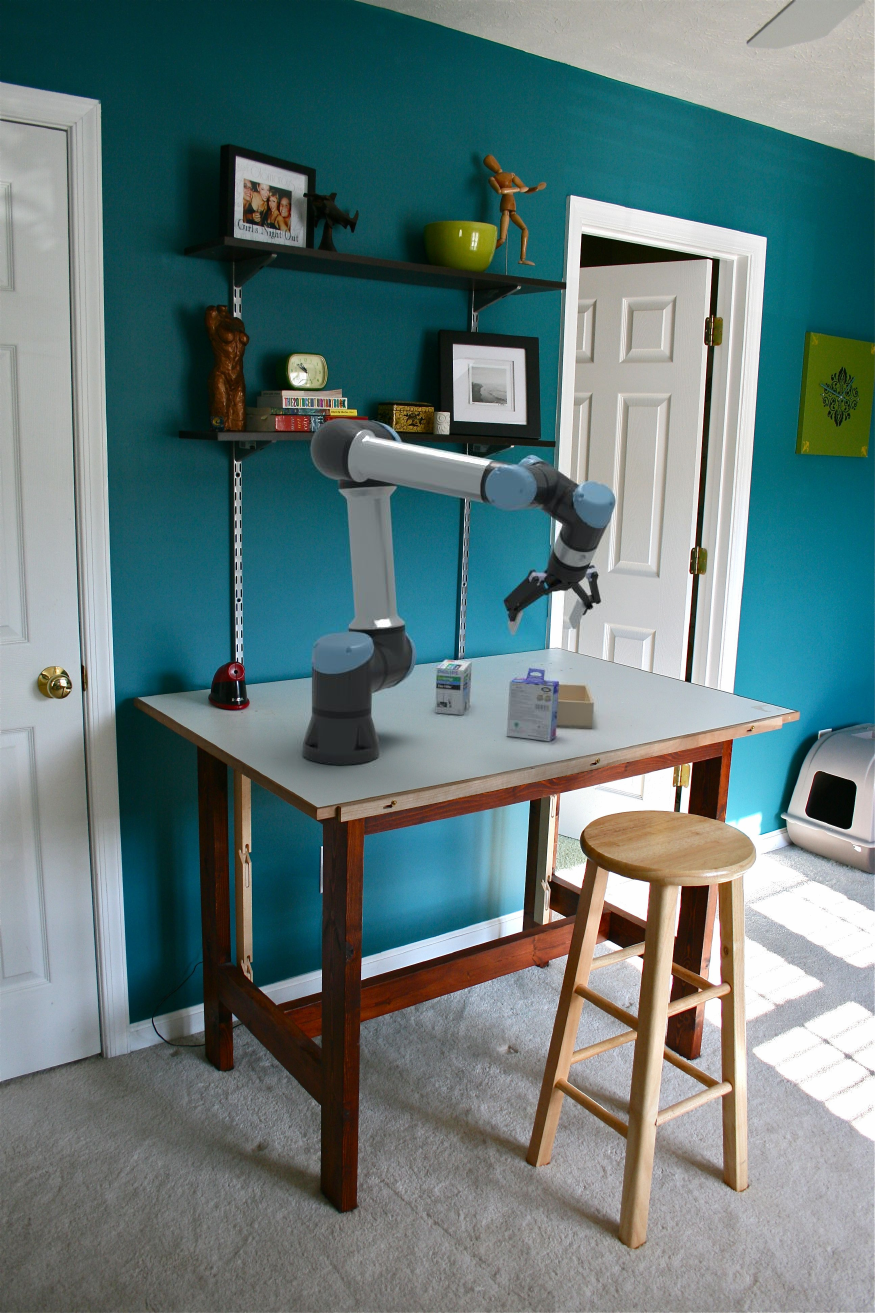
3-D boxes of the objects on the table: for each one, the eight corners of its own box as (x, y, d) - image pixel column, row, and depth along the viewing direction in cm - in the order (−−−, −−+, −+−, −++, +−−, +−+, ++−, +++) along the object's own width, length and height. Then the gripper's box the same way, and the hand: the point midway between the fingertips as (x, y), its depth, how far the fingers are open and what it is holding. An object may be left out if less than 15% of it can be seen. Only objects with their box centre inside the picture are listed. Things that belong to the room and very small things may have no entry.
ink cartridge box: (557, 736, 213) (561, 670, 211) (551, 742, 208) (555, 675, 205) (512, 730, 217) (516, 665, 214) (506, 736, 211) (509, 670, 209)
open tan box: (523, 725, 221) (524, 699, 220) (520, 685, 259) (521, 663, 258) (592, 729, 220) (593, 702, 219) (579, 688, 258) (580, 666, 257)
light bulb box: (462, 715, 227) (464, 670, 225) (434, 713, 229) (435, 667, 226) (470, 705, 238) (472, 661, 235) (443, 702, 239) (444, 658, 237)
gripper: (516, 573, 179) (490, 646, 196) (639, 564, 187) (603, 635, 203) (504, 543, 184) (479, 617, 200) (624, 536, 191) (591, 607, 207)
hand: (542, 626), depth 202 cm, fingers open, 13 cm apart
